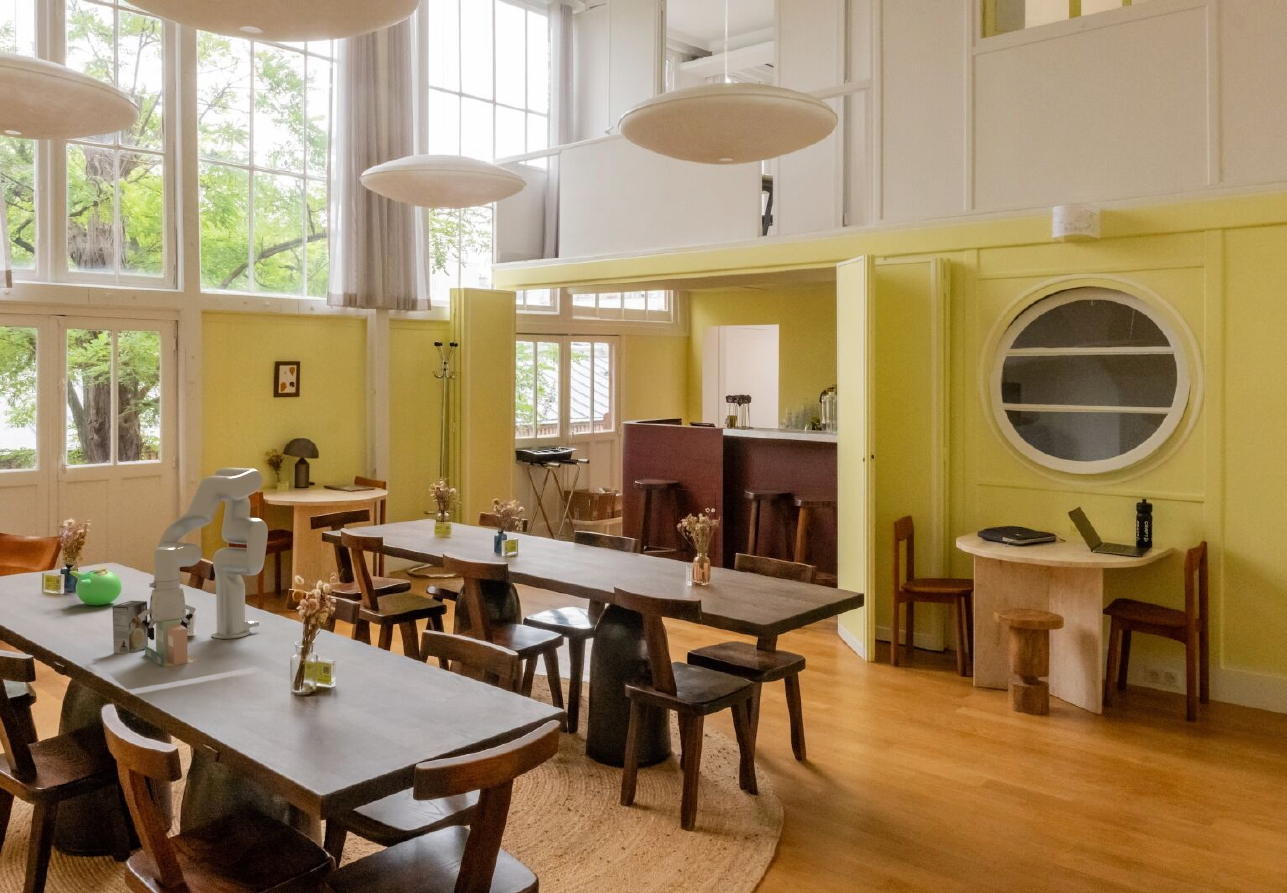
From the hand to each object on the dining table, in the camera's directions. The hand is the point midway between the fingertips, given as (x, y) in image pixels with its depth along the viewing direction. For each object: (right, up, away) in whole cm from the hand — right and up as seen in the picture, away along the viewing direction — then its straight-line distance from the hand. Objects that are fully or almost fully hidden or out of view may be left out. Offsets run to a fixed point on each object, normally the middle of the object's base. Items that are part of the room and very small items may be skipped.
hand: (167, 636), depth 320 cm
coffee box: (-17, -7, +10) cm, 21 cm away
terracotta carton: (+7, -7, -7) cm, 12 cm away
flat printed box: (+3, -8, -3) cm, 8 cm away
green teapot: (-65, -2, +75) cm, 99 cm away
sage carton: (0, -6, 0) cm, 6 cm away
